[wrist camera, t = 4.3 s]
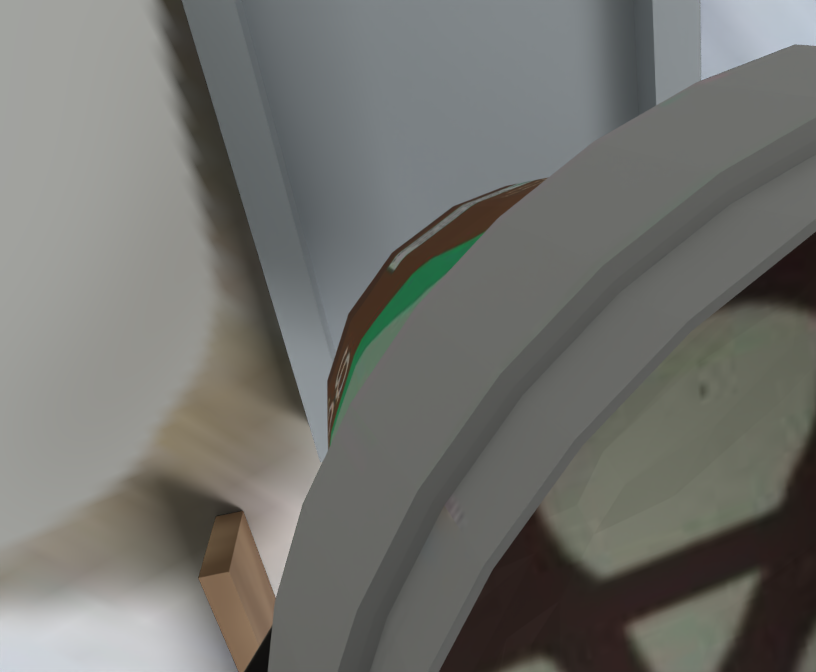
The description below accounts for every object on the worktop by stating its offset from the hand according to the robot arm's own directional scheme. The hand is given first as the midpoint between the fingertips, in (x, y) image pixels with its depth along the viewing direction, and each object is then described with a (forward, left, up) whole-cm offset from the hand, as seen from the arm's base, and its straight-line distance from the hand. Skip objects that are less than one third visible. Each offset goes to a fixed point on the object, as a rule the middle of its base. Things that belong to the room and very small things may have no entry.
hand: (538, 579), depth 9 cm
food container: (+1, +1, -6) cm, 6 cm away
